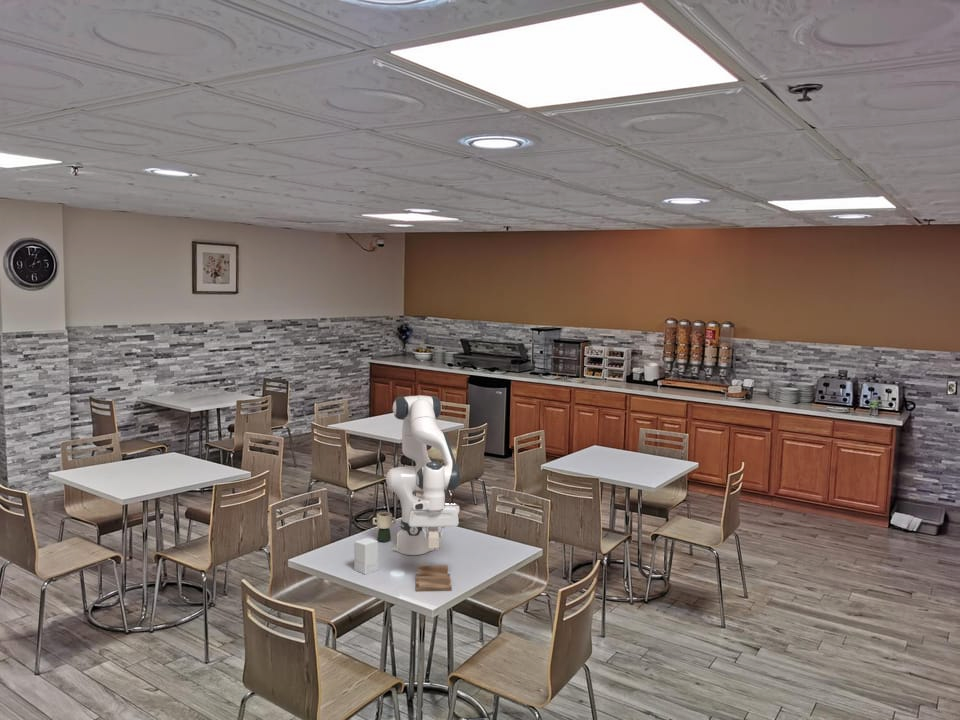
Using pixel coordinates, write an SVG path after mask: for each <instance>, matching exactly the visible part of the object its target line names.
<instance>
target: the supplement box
mask: <svg viewBox="0 0 960 720" xmlns="http://www.w3.org/2000/svg"><path fill="white" fill-rule="evenodd" d="M353 543H354V545H353V546H354V548H353V549H354V552H353V553H354V554H353V555H354V557H353V559H354V562H353V563H354V565H353V567H354V569H353V570H354V571H356V572H358V573H361V574H364V575H368V574H370V573H374V572H376V571H378V570H379V540H375V539H373V538H369V537H365V538H362V539H359V540H355V541H354V542H353Z"/></svg>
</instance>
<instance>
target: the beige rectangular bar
mask: <svg viewBox="0 0 960 720" xmlns="http://www.w3.org/2000/svg"><path fill="white" fill-rule="evenodd" d="M427 530H428V546H429V548H434V549H440V537H439V533H438V532H439V527H427Z"/></svg>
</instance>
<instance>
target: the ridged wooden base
mask: <svg viewBox="0 0 960 720" xmlns="http://www.w3.org/2000/svg"><path fill="white" fill-rule="evenodd" d="M448 566H449V565H447V564H445V565H444V564H443V565H440V564H437V565H436V564H435V565H432V564H431V565H430V564H429V565H418V573H416V574H415V591H416V592H448V591H449V592H452V591H453V589H452V581H451V580H452V579H451V574H450V573H449V572H448V571H449V567H448Z"/></svg>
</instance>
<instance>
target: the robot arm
mask: <svg viewBox="0 0 960 720" xmlns="http://www.w3.org/2000/svg"><path fill="white" fill-rule="evenodd" d="M440 399H441V398H439V397H438V396H435V395H421V394H419V395H409V396H398V397H396V398H395V399H394V400H393V401H394V402H393V405H392V413H393V415H394V417H395V418H396V419H397V420H401V421H402V429H401V440H402V441H401V450H402V454H403V455H404V456H405V457H407V458H408V459H409V460H410V459H411V460H413V461H414V462H415V465H412V466H409V465H408V466H397V467H393V468H390V469H389V470H388V471H387V473H386V475H385V483H386V485H387V487H388V489H390V490H391V491H393V493H395V494H396V496H397V497H398V499H399V501H400V506H401V520H400V530H398V532H397V533H396V543H395V545H394V546H393V548H392V551H393V552H397V553H400V554H403V555H406V556H407V555H408V556H418V555H424V554H426V553H428V552H432V551H434V550H435V548H429V546H428V527H438V528H440V531H438V533H439V538H442V537H443V533H444V532H445V530H446V528H448V527H449V528H451V527H458V526H459V513H460V508H461V507H460V505H459V504H458V503H455V502H453V503H450V502H446V493H445V490H446V491H455V490H456V489H457V488H458V487H460V485H461V483H462V475H461V471H460V468H459V467H458V465H457V462H456V459H455V456H454V454H453V453H454V452H453V450H452V448H451V445H450V442H449V438H448V436H447V434H446V433H445V432H443V431H442V430H441V429H440V428H439V426H438V424H437V419H438V418H439V417H440V416H441V412H442V403H441V402H442V401H441V400H440ZM427 446H429V447H433V448H435V449H436V450H438V451H439V452H440V454H441V457H442V460H443V463H444V464H443V463H441V462H438V461H432V460H431V458H430V456H429V453H428V449H427V448H428V447H427ZM415 491H423V494H422V497H421V498H420V497H418V496H416V495H414V493H413V492H415Z"/></svg>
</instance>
